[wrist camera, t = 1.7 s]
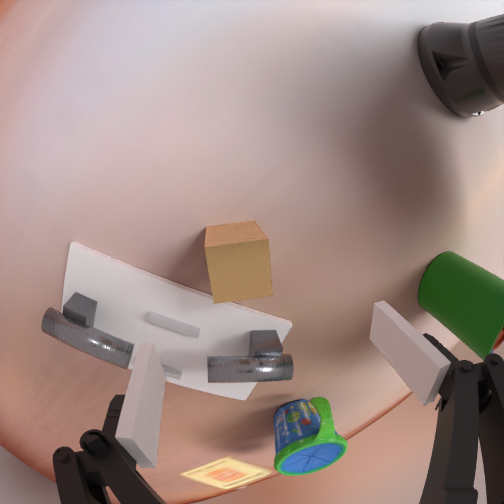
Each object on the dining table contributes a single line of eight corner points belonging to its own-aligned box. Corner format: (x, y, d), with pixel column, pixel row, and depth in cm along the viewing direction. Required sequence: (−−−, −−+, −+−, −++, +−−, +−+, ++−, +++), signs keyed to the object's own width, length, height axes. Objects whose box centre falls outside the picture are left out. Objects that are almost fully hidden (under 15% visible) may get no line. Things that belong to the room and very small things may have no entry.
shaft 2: (284, 329, 32) (296, 358, 27) (278, 361, 33) (289, 390, 28) (207, 330, 30) (207, 361, 25) (207, 362, 32) (208, 394, 27)
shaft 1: (60, 318, 27) (41, 343, 22) (63, 286, 26) (41, 308, 21) (134, 350, 30) (124, 380, 25) (142, 319, 29) (131, 349, 24)
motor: (423, 318, 37) (503, 393, 18) (411, 279, 34) (514, 357, 15) (462, 280, 36) (546, 336, 17) (454, 238, 33) (557, 290, 14)
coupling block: (206, 226, 28) (204, 247, 21) (255, 220, 28) (268, 238, 22) (213, 272, 29) (213, 304, 23) (259, 265, 30) (272, 295, 23)
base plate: (74, 241, 26) (66, 246, 24) (290, 320, 33) (294, 329, 31) (62, 334, 29) (56, 343, 27) (244, 395, 36) (246, 405, 34)
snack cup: (284, 376, 36) (303, 432, 26) (344, 380, 38) (371, 427, 28) (250, 436, 40) (259, 483, 30) (303, 437, 42) (318, 479, 33)
